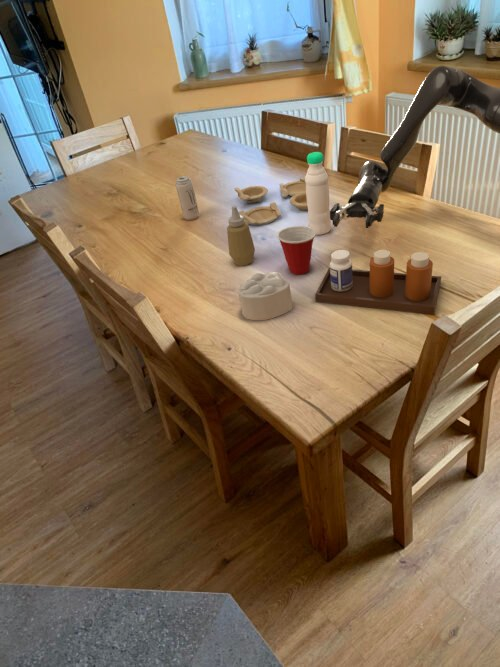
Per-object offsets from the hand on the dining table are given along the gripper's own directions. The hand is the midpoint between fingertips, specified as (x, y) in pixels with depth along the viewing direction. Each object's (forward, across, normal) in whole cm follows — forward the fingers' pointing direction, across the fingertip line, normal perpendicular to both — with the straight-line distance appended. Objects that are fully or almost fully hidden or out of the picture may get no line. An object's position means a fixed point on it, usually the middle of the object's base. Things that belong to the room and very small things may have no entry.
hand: (350, 224), depth 133 cm
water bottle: (-21, -16, +14) cm, 30 cm away
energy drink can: (-26, -67, +13) cm, 73 cm away
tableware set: (-40, -37, +14) cm, 56 cm away
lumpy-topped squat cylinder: (+23, -18, +14) cm, 32 cm away
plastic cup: (+3, -15, +14) cm, 20 cm away
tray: (+11, +9, +14) cm, 20 cm away
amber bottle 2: (+11, +19, +13) cm, 26 cm away
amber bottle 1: (+11, +10, +13) cm, 20 cm away
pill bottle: (+11, 0, +13) cm, 17 cm away
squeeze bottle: (+1, -34, +14) cm, 36 cm away
